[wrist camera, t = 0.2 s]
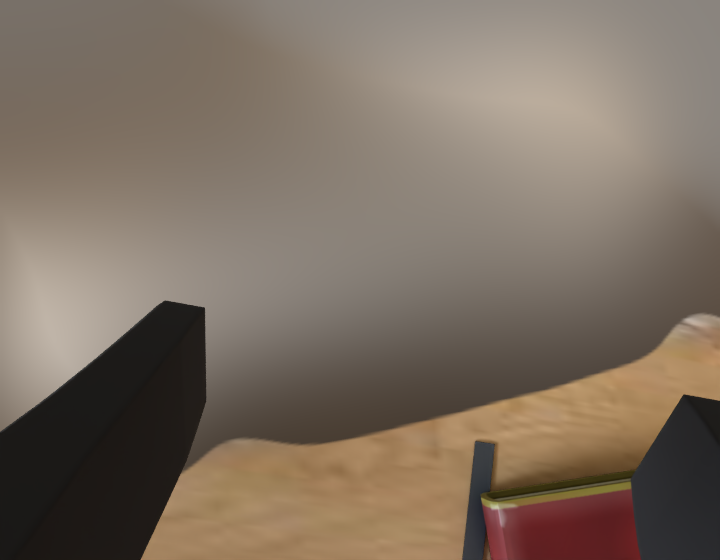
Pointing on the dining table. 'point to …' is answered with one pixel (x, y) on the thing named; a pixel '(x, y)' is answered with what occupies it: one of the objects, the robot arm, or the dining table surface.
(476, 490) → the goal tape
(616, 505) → the hardcover book
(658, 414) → the dining table surface
